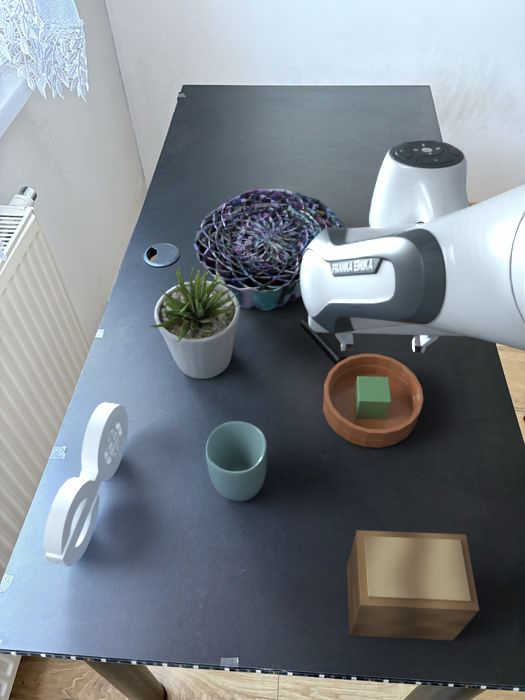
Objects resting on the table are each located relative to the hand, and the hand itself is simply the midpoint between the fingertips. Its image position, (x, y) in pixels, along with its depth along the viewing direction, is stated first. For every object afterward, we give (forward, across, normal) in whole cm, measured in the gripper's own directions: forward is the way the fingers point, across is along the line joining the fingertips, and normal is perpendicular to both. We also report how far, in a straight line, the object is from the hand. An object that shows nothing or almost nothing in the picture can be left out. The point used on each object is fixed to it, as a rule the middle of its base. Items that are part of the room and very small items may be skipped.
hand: (381, 348), depth 80 cm
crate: (+14, +2, -28) cm, 32 cm away
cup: (+14, -19, -13) cm, 27 cm away
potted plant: (+14, -26, +8) cm, 31 cm away
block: (+14, 0, 0) cm, 14 cm away
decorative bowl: (+15, -16, +30) cm, 37 cm away
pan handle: (+12, -7, +10) cm, 17 cm away
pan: (+14, 0, 0) cm, 14 cm away
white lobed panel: (+14, -38, -16) cm, 44 cm away
